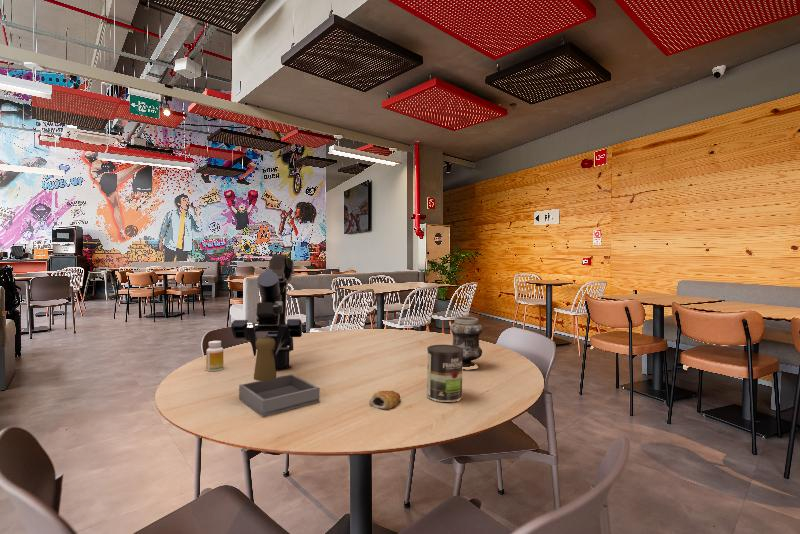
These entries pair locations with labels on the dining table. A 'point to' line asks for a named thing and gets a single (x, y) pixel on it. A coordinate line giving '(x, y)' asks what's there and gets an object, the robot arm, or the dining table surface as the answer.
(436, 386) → the coffee can
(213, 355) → the supplement bottle
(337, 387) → the dining table surface
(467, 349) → the apothecary jar
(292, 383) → the grey bin
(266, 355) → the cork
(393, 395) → the pastry
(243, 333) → the robot arm
